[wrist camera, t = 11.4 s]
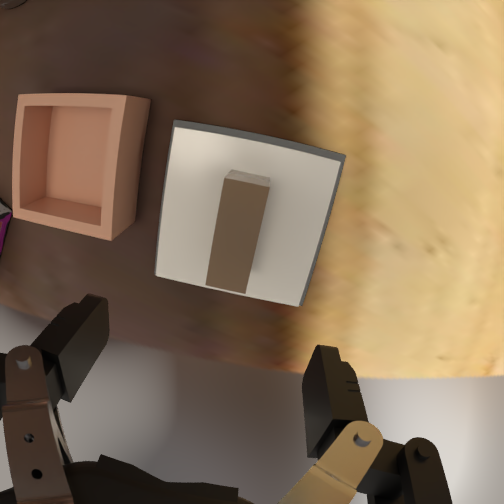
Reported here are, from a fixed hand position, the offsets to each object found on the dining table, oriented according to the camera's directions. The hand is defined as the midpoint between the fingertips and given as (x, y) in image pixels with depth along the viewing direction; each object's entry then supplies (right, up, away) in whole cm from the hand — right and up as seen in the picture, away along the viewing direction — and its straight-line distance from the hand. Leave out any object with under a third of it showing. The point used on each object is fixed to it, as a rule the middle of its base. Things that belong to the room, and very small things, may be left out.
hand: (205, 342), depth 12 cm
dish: (-13, +12, +14) cm, 23 cm away
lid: (+1, +6, +15) cm, 16 cm away
